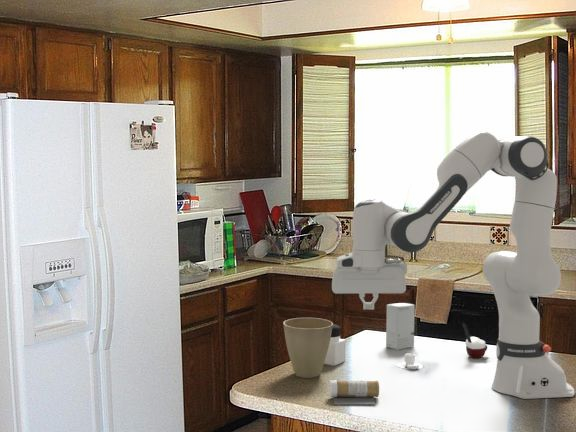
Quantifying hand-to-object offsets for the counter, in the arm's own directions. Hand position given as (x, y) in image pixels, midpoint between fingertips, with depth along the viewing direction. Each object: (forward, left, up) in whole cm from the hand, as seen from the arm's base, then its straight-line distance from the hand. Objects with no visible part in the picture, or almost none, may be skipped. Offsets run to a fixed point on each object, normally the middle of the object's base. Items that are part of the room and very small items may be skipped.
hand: (368, 309), depth 231 cm
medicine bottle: (+10, -36, -25) cm, 45 cm away
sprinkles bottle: (-3, +2, -22) cm, 22 cm away
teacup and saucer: (-12, -30, -25) cm, 41 cm away
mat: (+4, 0, -25) cm, 25 cm away
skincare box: (-14, -57, -25) cm, 63 cm away
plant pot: (+17, -21, -25) cm, 36 cm away
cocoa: (-37, -44, -25) cm, 62 cm away
